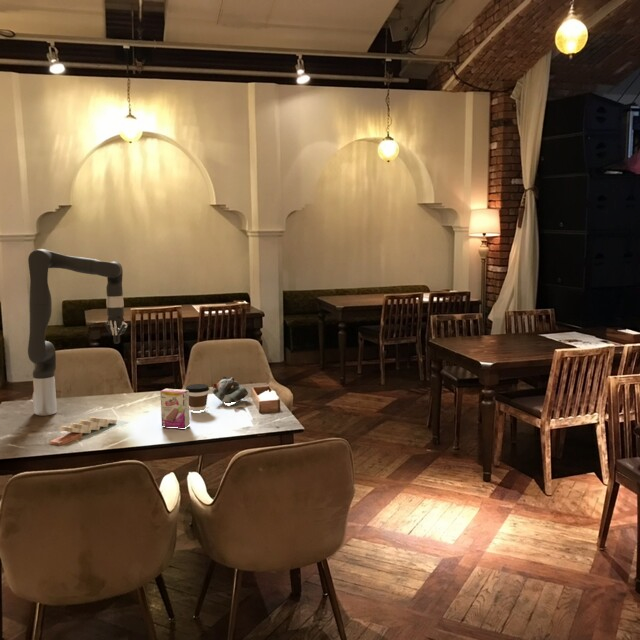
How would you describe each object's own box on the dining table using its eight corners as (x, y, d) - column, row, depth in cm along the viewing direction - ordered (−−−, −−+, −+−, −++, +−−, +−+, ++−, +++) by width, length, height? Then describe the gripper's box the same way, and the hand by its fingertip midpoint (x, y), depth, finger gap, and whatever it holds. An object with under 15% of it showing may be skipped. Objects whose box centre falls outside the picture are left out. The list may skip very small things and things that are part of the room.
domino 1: (73, 434, 290) (50, 445, 280) (72, 431, 290) (50, 441, 280) (82, 436, 288) (59, 446, 278) (81, 432, 288) (59, 442, 277)
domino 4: (98, 425, 303) (78, 423, 293) (99, 421, 303) (79, 419, 293) (107, 427, 301) (87, 425, 290) (108, 423, 301) (88, 421, 291)
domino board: (63, 436, 290) (63, 435, 290) (108, 420, 313) (108, 418, 313) (85, 440, 285) (85, 439, 285) (129, 423, 308) (129, 422, 308)
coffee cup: (207, 415, 320) (206, 389, 318) (183, 415, 320) (182, 389, 319) (211, 408, 331) (211, 383, 329) (188, 408, 331) (187, 383, 329)
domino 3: (90, 428, 299) (69, 426, 288) (91, 424, 299) (70, 422, 288) (99, 430, 297) (78, 428, 286) (99, 426, 297) (79, 424, 286)
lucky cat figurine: (229, 408, 331) (215, 382, 331) (218, 412, 341) (204, 387, 340) (253, 393, 340) (239, 368, 340) (242, 398, 350) (228, 373, 350)
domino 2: (81, 431, 294) (59, 430, 284) (82, 428, 295) (60, 426, 284) (90, 433, 292) (68, 431, 282) (91, 429, 292) (69, 427, 282)
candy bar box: (161, 428, 301) (159, 390, 298) (166, 424, 306) (165, 388, 303) (185, 430, 298) (183, 392, 295) (190, 426, 303) (189, 389, 300)
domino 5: (107, 422, 308) (87, 420, 297) (107, 418, 308) (88, 416, 297) (116, 423, 305) (96, 422, 295) (116, 420, 306) (97, 418, 295)
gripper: (98, 305, 321) (100, 343, 323) (120, 307, 315) (122, 345, 317) (109, 303, 327) (111, 340, 330) (132, 305, 321) (133, 343, 324)
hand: (116, 343), depth 324 cm, fingers closed
